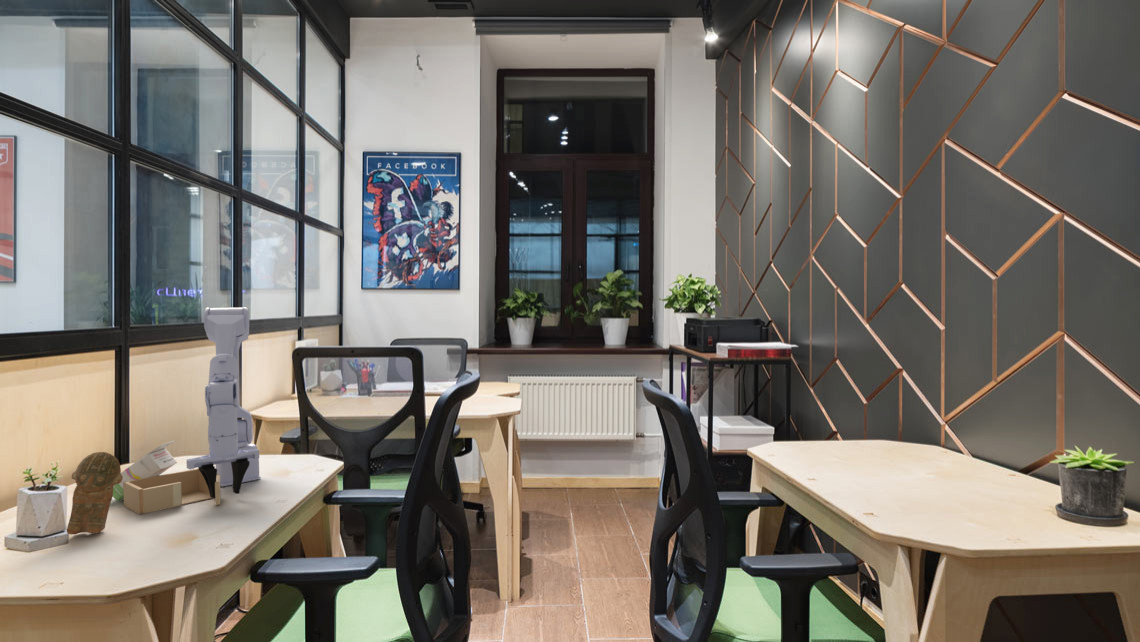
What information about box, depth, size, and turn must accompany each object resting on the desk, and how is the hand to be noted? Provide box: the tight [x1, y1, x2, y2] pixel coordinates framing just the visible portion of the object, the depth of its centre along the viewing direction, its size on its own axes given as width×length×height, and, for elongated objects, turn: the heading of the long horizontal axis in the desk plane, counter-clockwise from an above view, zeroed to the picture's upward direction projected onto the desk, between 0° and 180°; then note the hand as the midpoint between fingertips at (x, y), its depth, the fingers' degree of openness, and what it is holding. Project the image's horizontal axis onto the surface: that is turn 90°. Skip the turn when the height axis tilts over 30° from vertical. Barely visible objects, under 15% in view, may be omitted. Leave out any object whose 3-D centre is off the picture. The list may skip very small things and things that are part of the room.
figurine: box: [66, 451, 123, 535], centre depth 127 cm, size 8×8×15 cm
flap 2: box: [214, 475, 222, 506], centre depth 146 cm, size 7×1×5 cm, turn 27°
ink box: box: [112, 439, 178, 502], centre depth 153 cm, size 9×5×15 cm
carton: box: [123, 468, 219, 515], centre depth 148 cm, size 16×11×5 cm
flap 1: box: [142, 482, 183, 514], centre depth 141 cm, size 7×1×5 cm, turn 139°
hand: (225, 495), depth 146 cm, fingers open, 4 cm apart
